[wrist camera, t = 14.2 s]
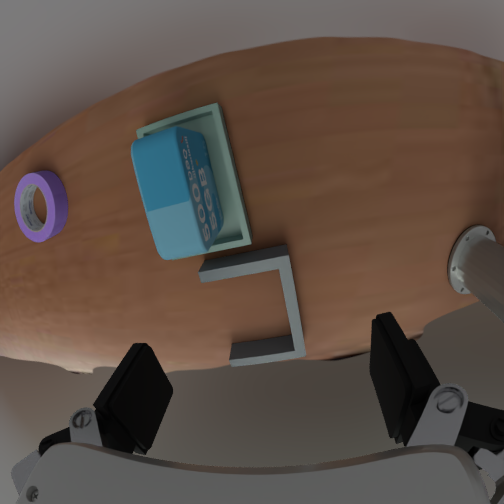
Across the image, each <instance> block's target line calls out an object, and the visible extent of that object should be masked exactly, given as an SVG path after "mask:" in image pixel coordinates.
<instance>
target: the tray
mask: <svg viewBox="0 0 504 504" xmlns="http://www.w3.org/2000/svg"><path fill="white" fill-rule="evenodd" d="M175 126H178V127H182V128H185V129H189V130H192V131H196V132H199V133H201V134H202V135H203V136H204V139H205V141H206V145H207V149H208V154H209V158H210V162H211V167H212V171H213V175H214V179H215V184H216V188H217V192H218V196H219V200H220V205H221V209H222V213H223V220H224V224H223V227H222V228H221V230H220V232H219V234H218V235H217V237H216V239H215V240H214V242H213V244H212V246H211V247H210V249H209V251H208V252H206V253H210V252H215V251H220V250H225V249H230V248H235V247H240V246H245V245H250V244H251V243H252V232H251V228H250V224H249V220H248V216H247V211H246V207H245V203H244V199H243V195H242V191H241V186H240V182H239V178H238V174H237V170H236V166H235V161H234V157H233V153H232V149H231V145H230V141H229V137H228V132H227V128H226V124H225V120H224V116H223V112H222V108H221V106H220V105H219V104H218V103H214V104H210V105H207V106H203V107H200V108H197V109H193V110H190V111H187V112H184V113H181V114H178V115H175V116H172V117H169V118H166V119H164V120H161V121H158V122H155V123H153V124H150V125H148V126H145V127H142V128H140V129H138V130H136V131H137V136H138V139H140V138H143V137H145V136H148V135H151V134H154V133H157V132H159V131H162V130H165V129H168V128H171V127H175ZM201 254H205V253H201ZM196 255H200V254H196ZM191 256H195V255H190V256H185V257H180V258H175V259H172V260H176V259H181V258H186V257H191Z"/></svg>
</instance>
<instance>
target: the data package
mask: <svg viewBox="0 0 504 504" xmlns="http://www.w3.org/2000/svg"><path fill="white" fill-rule="evenodd" d="M131 156H132V161H133V165H134V170H135V174H136V178H137V182H138V186H139V190H140V193H141V197H142V201H143V204H144V208H145V212H146V215H147V219H148V222H149V225H150V229H151V232H152V235H153V239H154V242H155V245H156V248H157V251H158V253H159V255H160V256H161V257H162V258H163V259H165V260H169V259H175V258H180V257H185V256H190V255H196V254H201V253H206V252H208V251H209V249H210V247H211V246H212V244H213V242H214V240H215V239H216V237H217V235H218V234H219V232H220V230H221V228H222V227H223V224H224V220H223V213H222V209H221V205H220V200H219V196H218V192H217V188H216V184H215V179H214V175H213V171H212V167H211V162H210V158H209V154H208V149H207V145H206V141H205V139H204V136H203V135H202V134H201V133H199V132H196V131H192V130H189V129H185V128H182V127H178V126H175V127H171V128H168V129H165V130H162V131H159V132H157V133H154V134H151V135H148V136H145V137H143V138H140V139H137V140H135V141H134V142H133V144H132V146H131Z"/></svg>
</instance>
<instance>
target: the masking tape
mask: <svg viewBox="0 0 504 504" xmlns="http://www.w3.org/2000/svg"><path fill="white" fill-rule="evenodd" d="M37 187H38V188H39V189H40V190H41V192H42V193H43V195H44V198H45V201H46V205H47V217H46V222H45V224H43V223H42V222H41V221H40V220H39V219H38V217H37V216H36V213H35V210H34V205H33V197H34V192H35V190H36V188H37ZM15 214H16V218H17V221H18V224H19V226H20V228H21V230H22V231H23V233H24V234H25V235H26V236H27V237H28V238H29V239H30V240H32V241H34V242H42V241H45V240H47V239H49V238H51V237H53V236H55V235H56V234H58V233H59V232H60V231H61V230H62V229H63V227H64V225H65V223H66V220H67V215H68V200H67V195H66V191H65V188H64V186H63V184H62V182H61V180H60V179H59V178H58V176H57V175H56V174H54V173H53V172H51V171H39V172H34V173H29V174H27V175H25V176H24V177H23V178H22V179H21V181H20V182H19V184H18V186H17V189H16V193H15Z"/></svg>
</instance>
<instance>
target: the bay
mask: <svg viewBox="0 0 504 504" xmlns="http://www.w3.org/2000/svg"><path fill="white" fill-rule="evenodd" d="M275 269H279V272H280V277H281V282H282V287H283V292H284V297H285V302H286V307H287V312H288V317H289V322H290V327H291V332H292V335H288V336H282V337H276V338H270V339H263V340H257V341H250V342H242V343H235V344H232V347H231V352H230V358H229V361H230V364H231V366H232V367H235V366H244V365H251V364H260V363H267V362H274V361H281V360H287V359H293V358H299V357H304V356H306V352H305V345H304V339H303V333H302V327H301V321H300V315H299V309H298V303H297V297H296V292H295V286H294V281H293V275H292V270H291V264H290V259H289V254H288V249H287V244H286V245H281V246H276V247H271V248H266V249H261V250H256V251H250V252H245V253H240V254H235V255H230V256H225V257H220V258H215V259H210V260H205V261H204V263H203V264H202V266H201V268H200V270H199V272H198V274H199V277H200V280H201V283H204V282H210V281H215V280H221V279H226V278H232V277H237V276H243V275H248V274H254V273H259V272H264V271H270V270H275Z"/></svg>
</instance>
